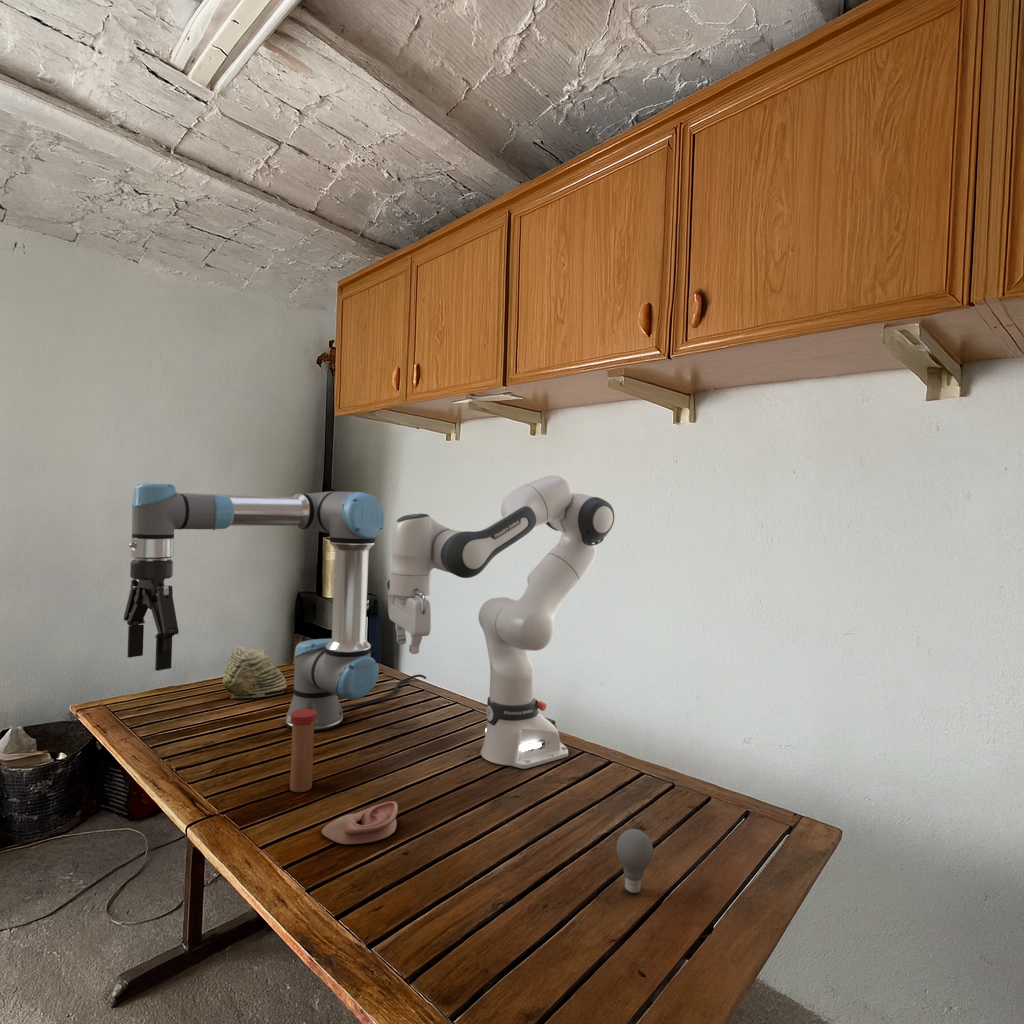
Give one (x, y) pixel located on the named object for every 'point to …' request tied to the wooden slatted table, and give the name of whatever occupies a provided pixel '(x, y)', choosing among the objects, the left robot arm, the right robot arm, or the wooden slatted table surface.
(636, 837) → the light bulb
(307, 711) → the lid
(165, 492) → the left robot arm
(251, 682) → the fossil
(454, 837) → the wooden slatted table surface
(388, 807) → the anatomical model
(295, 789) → the jar
